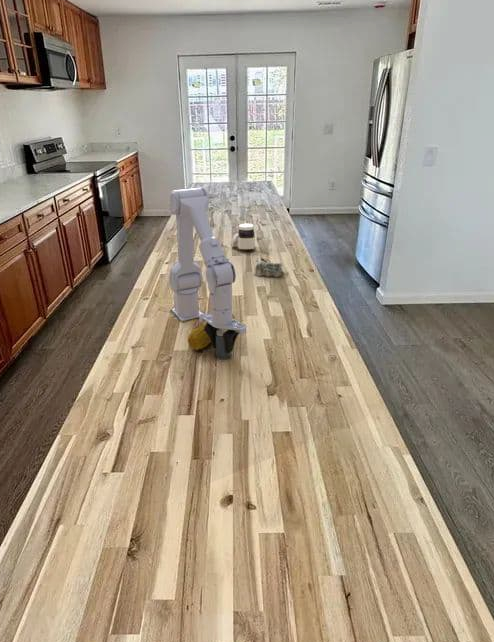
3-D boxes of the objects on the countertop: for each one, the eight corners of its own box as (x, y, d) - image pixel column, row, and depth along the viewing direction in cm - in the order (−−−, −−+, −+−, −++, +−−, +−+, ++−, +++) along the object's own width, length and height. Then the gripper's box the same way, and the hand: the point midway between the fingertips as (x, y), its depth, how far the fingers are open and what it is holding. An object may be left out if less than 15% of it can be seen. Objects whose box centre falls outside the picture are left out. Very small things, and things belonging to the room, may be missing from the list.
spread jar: (255, 253, 199) (255, 228, 194) (230, 253, 199) (229, 228, 194) (254, 244, 210) (254, 221, 205) (230, 245, 210) (230, 221, 205)
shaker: (221, 349, 125) (220, 326, 122) (232, 354, 123) (232, 330, 120) (213, 356, 122) (212, 332, 119) (224, 360, 120) (223, 336, 117)
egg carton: (254, 276, 174) (254, 266, 173) (257, 269, 181) (257, 260, 179) (280, 277, 172) (280, 268, 171) (282, 270, 179) (282, 261, 177)
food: (201, 355, 123) (200, 337, 120) (185, 350, 125) (184, 332, 123) (238, 323, 139) (238, 307, 136) (223, 319, 142) (222, 303, 139)
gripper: (252, 306, 115) (252, 350, 121) (208, 294, 123) (210, 336, 129) (237, 317, 110) (238, 362, 116) (193, 304, 118) (195, 346, 124)
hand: (222, 349), depth 122 cm, fingers closed on shaker, 4 cm apart
